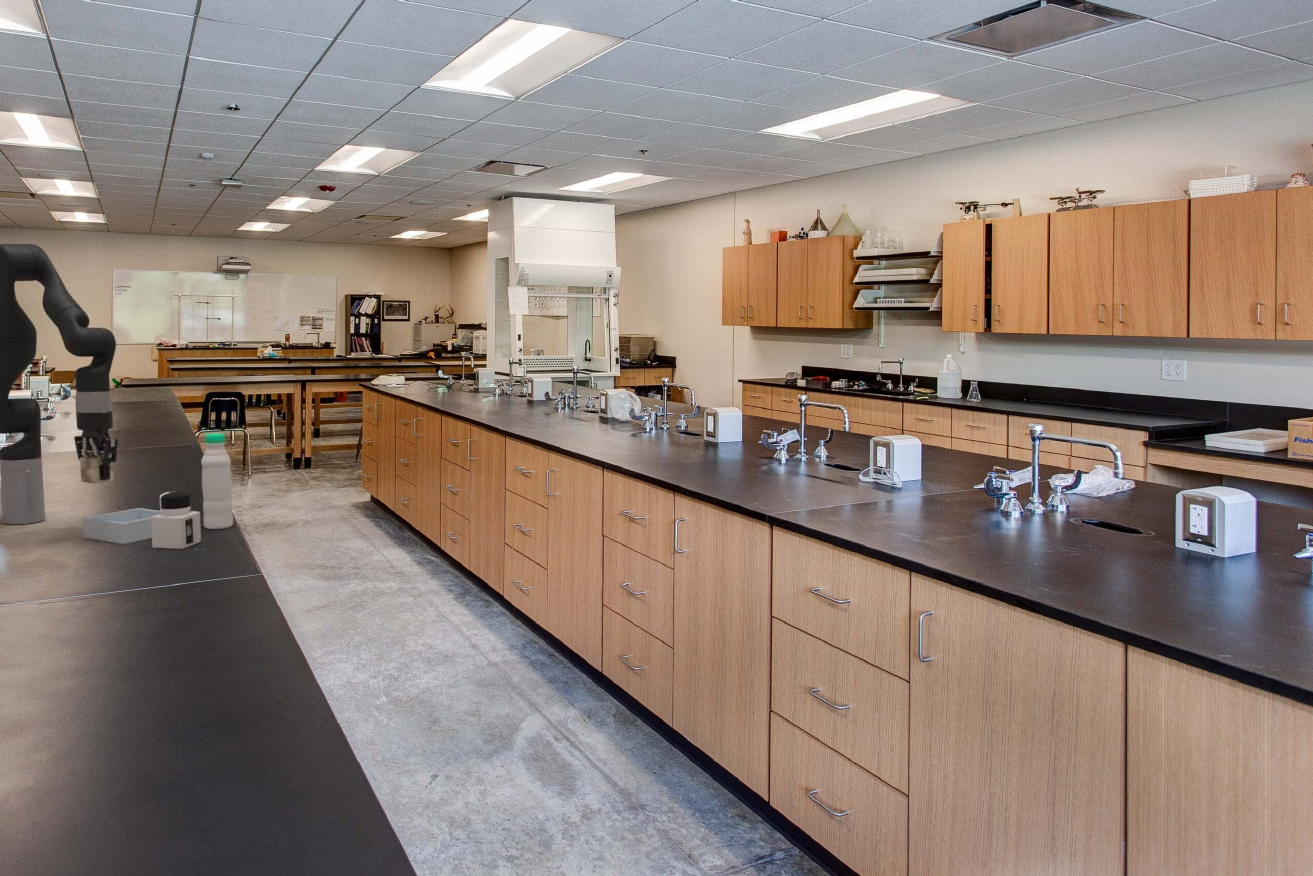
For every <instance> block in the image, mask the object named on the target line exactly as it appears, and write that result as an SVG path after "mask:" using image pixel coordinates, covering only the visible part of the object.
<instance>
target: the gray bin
mask: <svg viewBox="0 0 1313 876" xmlns="http://www.w3.org/2000/svg"><path fill="white" fill-rule="evenodd" d="M158 514H162V512H161V511H160V510H158V509H157V510H156V509H149V508H142V507H137V508H131V509H126V510H118V511H115V512H108V513H104V514H97V515H90V516H85V517H82V529H83V530H82V533H83V534H82V535H83V538H84V539H85V538H86V539H91V540H97V541H101V542H102V541H103V542H110V543H114V544H121V545H125V544H130V543H134V542H139V541H144V540H148V539H152V527H151V517H152V516H155V515H158Z"/></svg>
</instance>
